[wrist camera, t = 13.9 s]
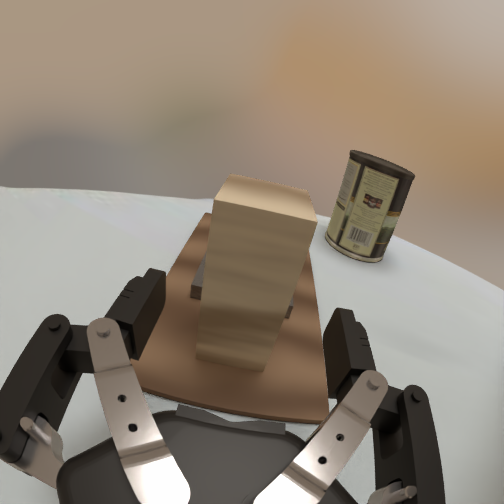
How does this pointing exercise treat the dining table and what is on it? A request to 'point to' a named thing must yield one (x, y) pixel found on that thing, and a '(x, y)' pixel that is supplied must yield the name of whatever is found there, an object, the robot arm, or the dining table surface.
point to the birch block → (251, 269)
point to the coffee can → (368, 206)
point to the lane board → (227, 377)
